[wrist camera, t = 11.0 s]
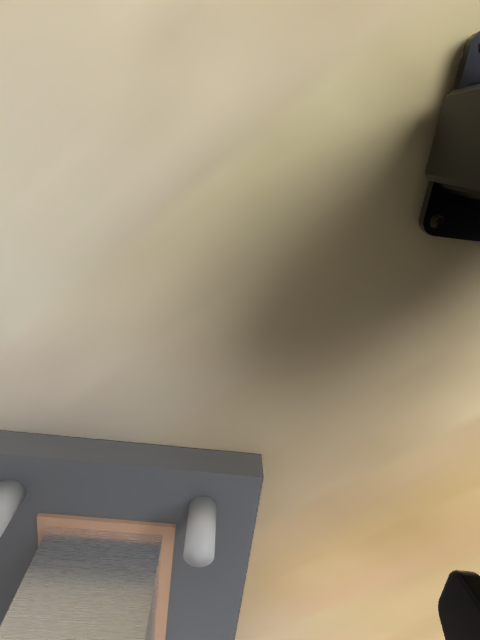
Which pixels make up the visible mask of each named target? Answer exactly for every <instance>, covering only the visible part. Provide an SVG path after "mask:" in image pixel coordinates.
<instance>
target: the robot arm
mask: <svg viewBox="0 0 480 640" xmlns="http://www.w3.org/2000/svg"><path fill="white" fill-rule="evenodd" d="M479 43H480V31H479V32H477V33H475V34H473V35H472V36H471V37H470V38H469V39H468V41H467V43H466V45H465V48H464V52H463V56H462V59H461V63H460V67H459V71H458V74H457V78H456V82H455V86H454V90H453V91H452V92H451V93H449V94H448V95H447V96H446V97H445V98H444V102H443V106H442V110H441V113H440V117H439V121H438V125H437V129H436V133H435V136H434V140H433V144H432V148H431V152H430V156H429V159H428V163H427V167H426V171H425V174H426V176H427V177H428V179H429V184H428V188H427V191H426V195H425V199H424V203H423V206H422V210H421V214H420V218H419V225H420V228H421V229H422V230H423V231H424V232H425V233H427V234H430V235H432V236H439V237H447V238H455V239H463V240H472V241H480V53H479V51H478V45H479ZM435 215H438V216H439V223H438V224H437V225H436V226H435V227H431V226H430V220H431V218H432V217H433V216H435ZM438 611H439V617H440V621H441V624H442V628H443V632H444V636H445V640H480V576H479V575H478V574H476V573H474V572H470V571H458V570H455V571H452V572H451V573H450V574H449V577H448V579H447V582H446V584H445V586H444V589H443V591H442V594H441V596H440V599H439V604H438Z"/></svg>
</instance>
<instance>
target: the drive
mask: <svg viewBox="0 0 480 640" xmlns="http://www.w3.org/2000/svg"><path fill="white" fill-rule="evenodd" d="M162 542H163V535H154V534H141V533H129V532H116V531H104V530H91V529H79V528H66V527H54V526H48V528H47V530H46V532H45V534H44V536H43V538H42V540H41V543H40V545H39V547H38V549H37V551H36V553H35V555H34V557H33V559H32V561H31V563H30V565H29V568H28V570H27V572H26V574H25V576H24V578H23V580H22V582H21V584H20V586H19V588H18V590H17V592H16V595H15V597H14V599H13V601H12V603H11V605H10V607H9V609H8V611H7V613H6V615H5V617H4V619H3V622H2V624H1V626H0V640H155V631H156V618H157V605H158V593H159V580H160V567H161V554H162Z"/></svg>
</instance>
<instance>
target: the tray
mask: <svg viewBox="0 0 480 640" xmlns="http://www.w3.org/2000/svg"><path fill="white" fill-rule="evenodd" d="M262 482H263V467H262V456H261V455H260V454H249V453H239V452H228V451H217V450H206V449H196V448H185V447H174V446H163V445H152V444H142V443H131V442H120V441H109V440H98V439H88V438H77V437H66V436H55V435H45V434H34V433H23V432H12V431H1V430H0V626H1V624H2V622H3V619H4V617H5V615H6V613H7V611H8V609H9V607H10V605H11V603H12V601H13V599H14V597H15V595H16V592H17V590H18V588H19V586H20V584H21V582H22V580H23V578H24V576H25V574H26V572H27V570H28V568H29V565H30V563H31V561H32V559H33V557H34V555H35V553H36V551H37V549H38V547H39V545H40V543H41V540H42V538H43V536H44V534H45V532H46V530H47V528H48V526H54V527H66V528H79V529H91V530H104V531H116V532H129V533H141V534H154V535H163V542H162V554H161V567H160V580H159V593H158V605H157V618H156V631H155V640H235V635H236V629H237V623H238V618H239V612H240V607H241V601H242V595H243V590H244V584H245V578H246V573H247V567H248V561H249V556H250V550H251V544H252V539H253V533H254V528H255V522H256V516H257V511H258V505H259V499H260V494H261V488H262Z"/></svg>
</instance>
